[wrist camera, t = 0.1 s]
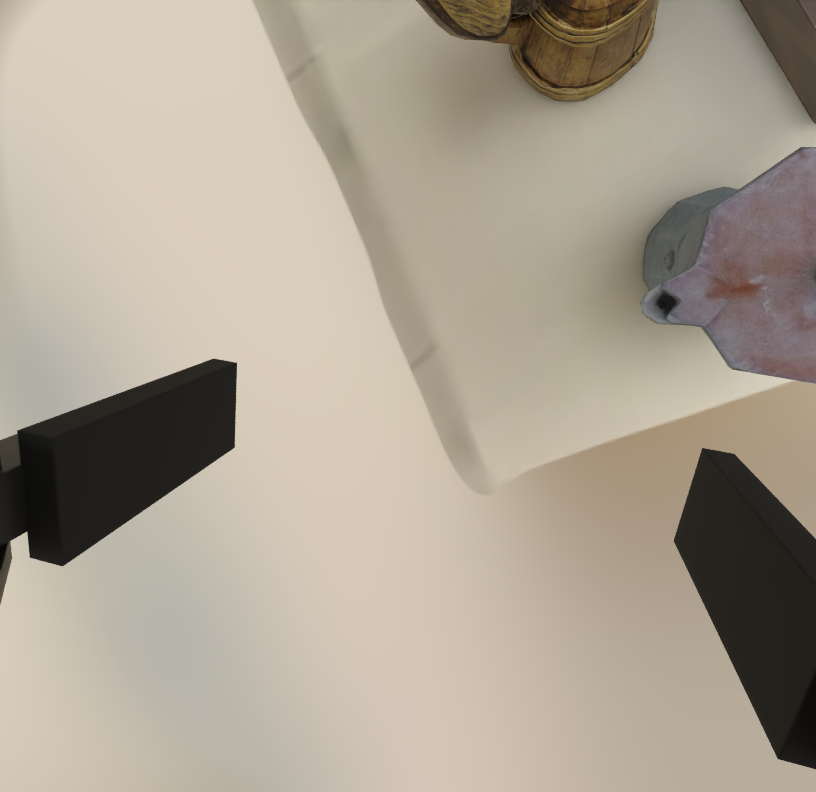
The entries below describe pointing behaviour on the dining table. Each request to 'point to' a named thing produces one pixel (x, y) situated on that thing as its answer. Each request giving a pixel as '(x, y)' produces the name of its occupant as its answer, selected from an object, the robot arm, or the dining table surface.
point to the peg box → (790, 41)
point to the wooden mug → (556, 38)
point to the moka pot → (743, 269)
